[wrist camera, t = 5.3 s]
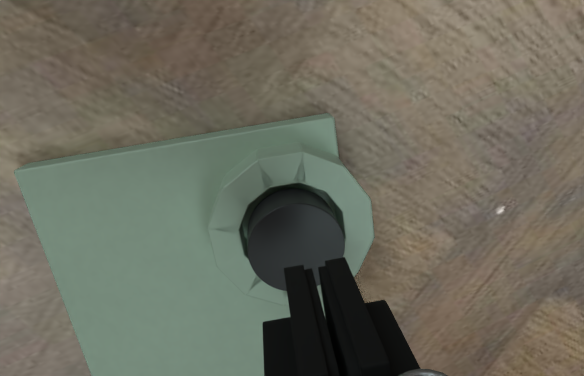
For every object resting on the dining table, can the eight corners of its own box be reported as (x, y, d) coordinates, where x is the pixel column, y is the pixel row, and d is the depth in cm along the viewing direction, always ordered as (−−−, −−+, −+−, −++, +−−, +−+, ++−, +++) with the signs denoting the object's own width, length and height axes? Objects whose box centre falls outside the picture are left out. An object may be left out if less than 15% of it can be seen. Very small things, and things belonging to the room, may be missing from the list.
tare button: (239, 196, 17) (238, 213, 15) (330, 180, 17) (339, 195, 15) (256, 276, 18) (256, 300, 16) (340, 260, 18) (350, 283, 16)
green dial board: (27, 163, 18) (-15, 185, 15) (346, 109, 19) (363, 121, 16) (130, 443, 23) (113, 498, 20) (376, 394, 24) (394, 441, 21)
